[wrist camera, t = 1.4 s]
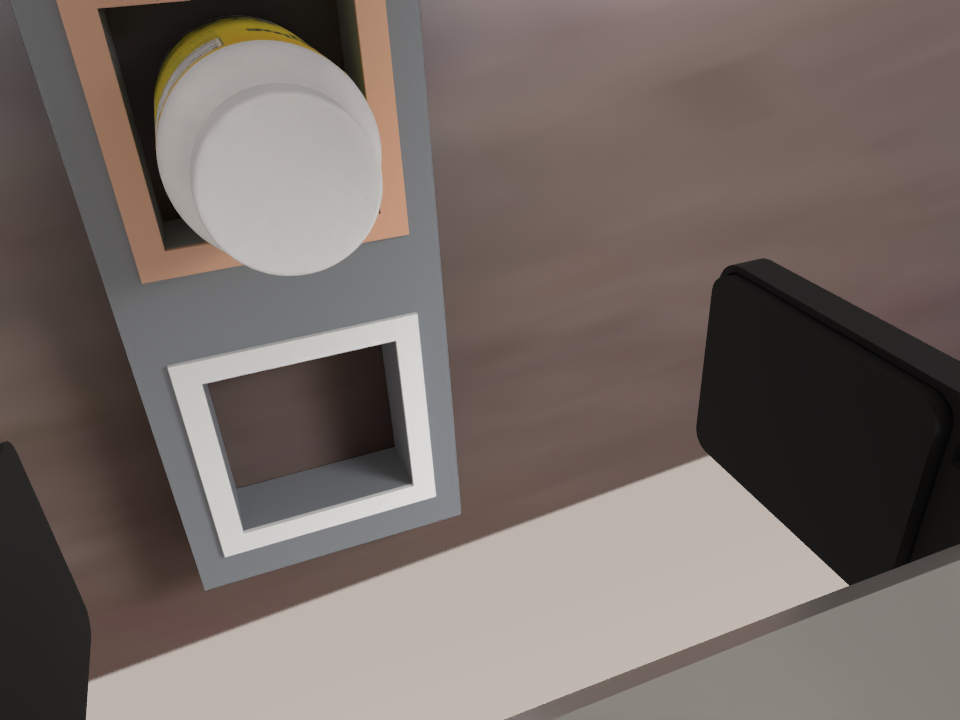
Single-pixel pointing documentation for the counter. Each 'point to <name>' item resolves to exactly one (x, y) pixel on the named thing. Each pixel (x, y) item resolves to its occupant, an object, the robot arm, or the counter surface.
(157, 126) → the pill bottle
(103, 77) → the socket stand
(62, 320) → the counter surface
